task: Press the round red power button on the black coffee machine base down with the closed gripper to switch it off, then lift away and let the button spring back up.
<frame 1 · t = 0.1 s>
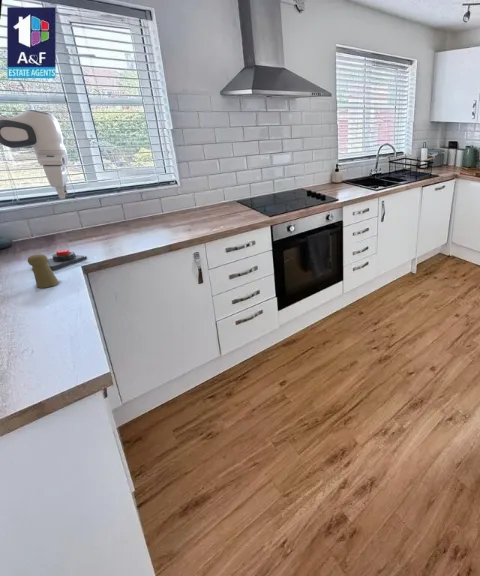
hand: (63, 196, 141), 28 cm above the countertop, tool pointing down, fingers open, 8 cm apart
power button: (63, 253, 149), point 5 cm above the countertop, slide at 0.1 cm
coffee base: (62, 267, 149), on the countertop
olive brown upright piece: (48, 284, 132), on the countertop
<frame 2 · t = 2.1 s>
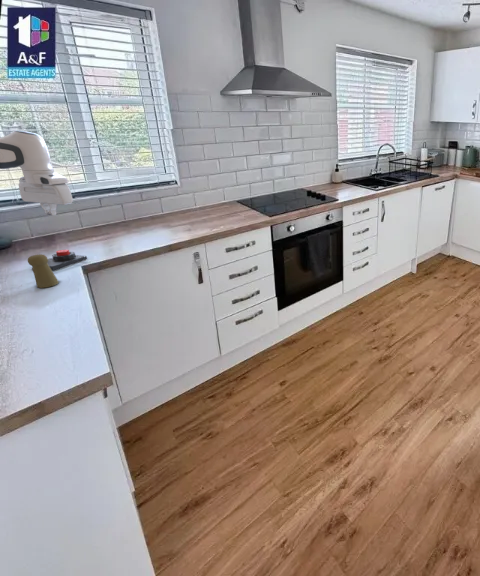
hand: (51, 214, 143), 21 cm above the countertop, tool pointing down, fingers closed
nothing on the countertop moved.
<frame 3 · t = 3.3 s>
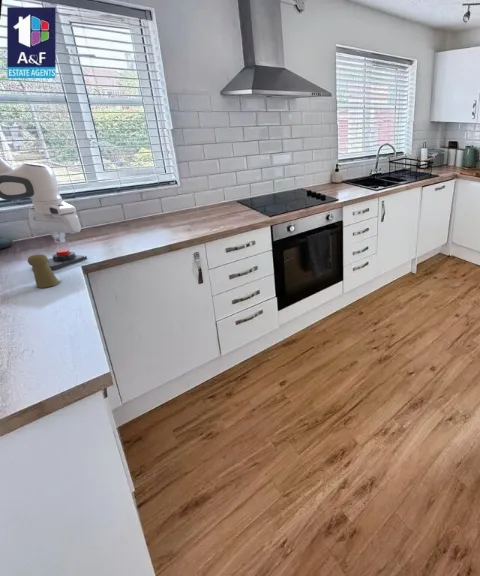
hand: (60, 242, 147), 10 cm above the countertop, tool pointing down, fingers closed
nothing on the countertop moved.
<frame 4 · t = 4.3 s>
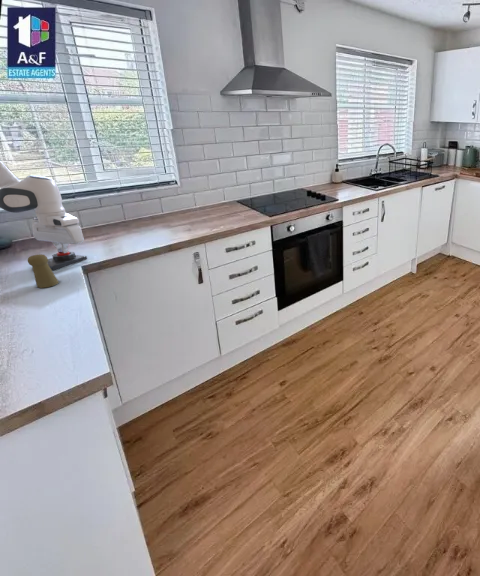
hand: (63, 252, 149), 6 cm above the countertop, tool pointing down, fingers closed, pressing on power button
power button: (63, 254, 149), point 5 cm above the countertop, slide at -0.7 cm, touching gripper
everything else where it was.
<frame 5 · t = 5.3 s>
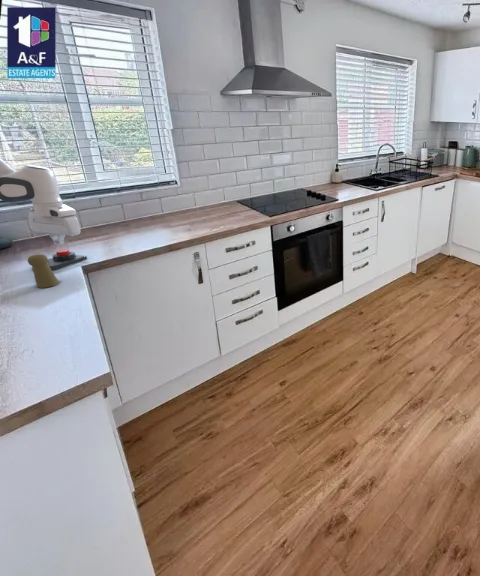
hand: (59, 244, 147), 9 cm above the countertop, tool pointing down, fingers closed
power button: (63, 253, 149), point 5 cm above the countertop, slide at 0.1 cm
everything else where it was.
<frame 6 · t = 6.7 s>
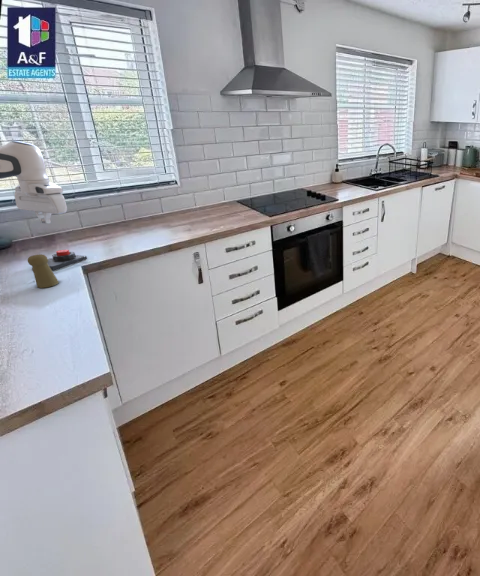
hand: (46, 223, 146), 17 cm above the countertop, tool pointing down, fingers closed
nothing on the countertop moved.
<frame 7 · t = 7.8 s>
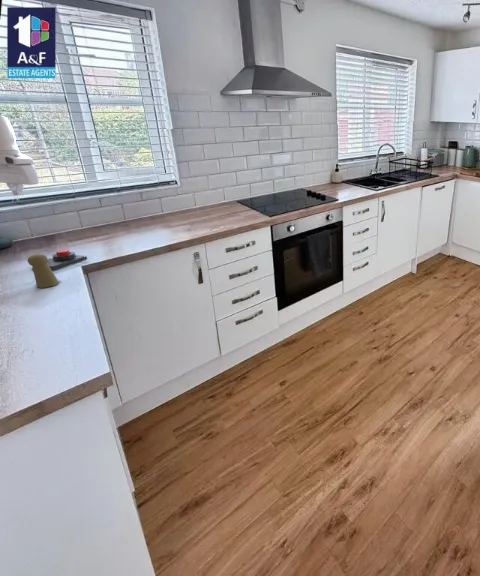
hand: (18, 195, 146), 27 cm above the countertop, tool pointing down, fingers closed
nothing on the countertop moved.
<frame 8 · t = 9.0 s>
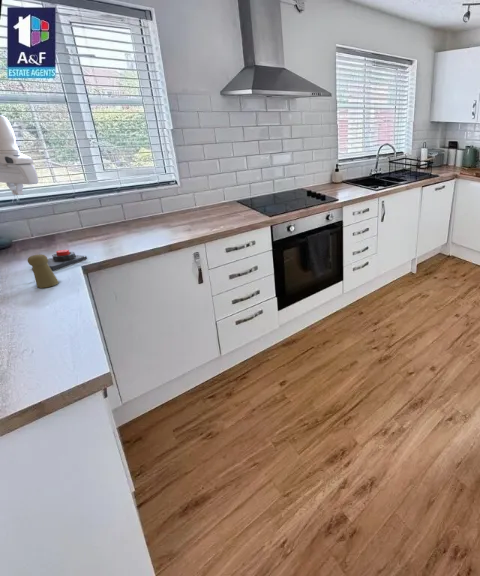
hand: (18, 194, 146), 27 cm above the countertop, tool pointing down, fingers closed
nothing on the countertop moved.
at the end: power button pushed in 1.0 cm at the most during the clip, back to where it started at the end; power button slide at 0.1 cm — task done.
